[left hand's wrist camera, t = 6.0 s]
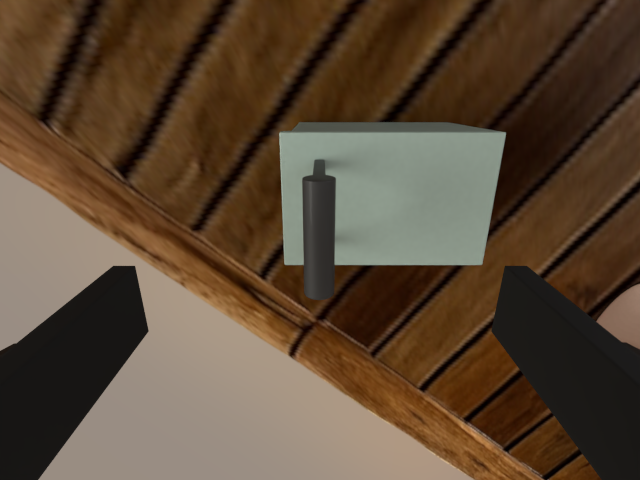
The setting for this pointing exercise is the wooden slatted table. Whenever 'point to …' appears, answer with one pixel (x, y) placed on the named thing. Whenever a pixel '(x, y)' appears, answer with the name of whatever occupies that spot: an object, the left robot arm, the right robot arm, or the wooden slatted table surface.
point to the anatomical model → (624, 317)
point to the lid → (385, 199)
